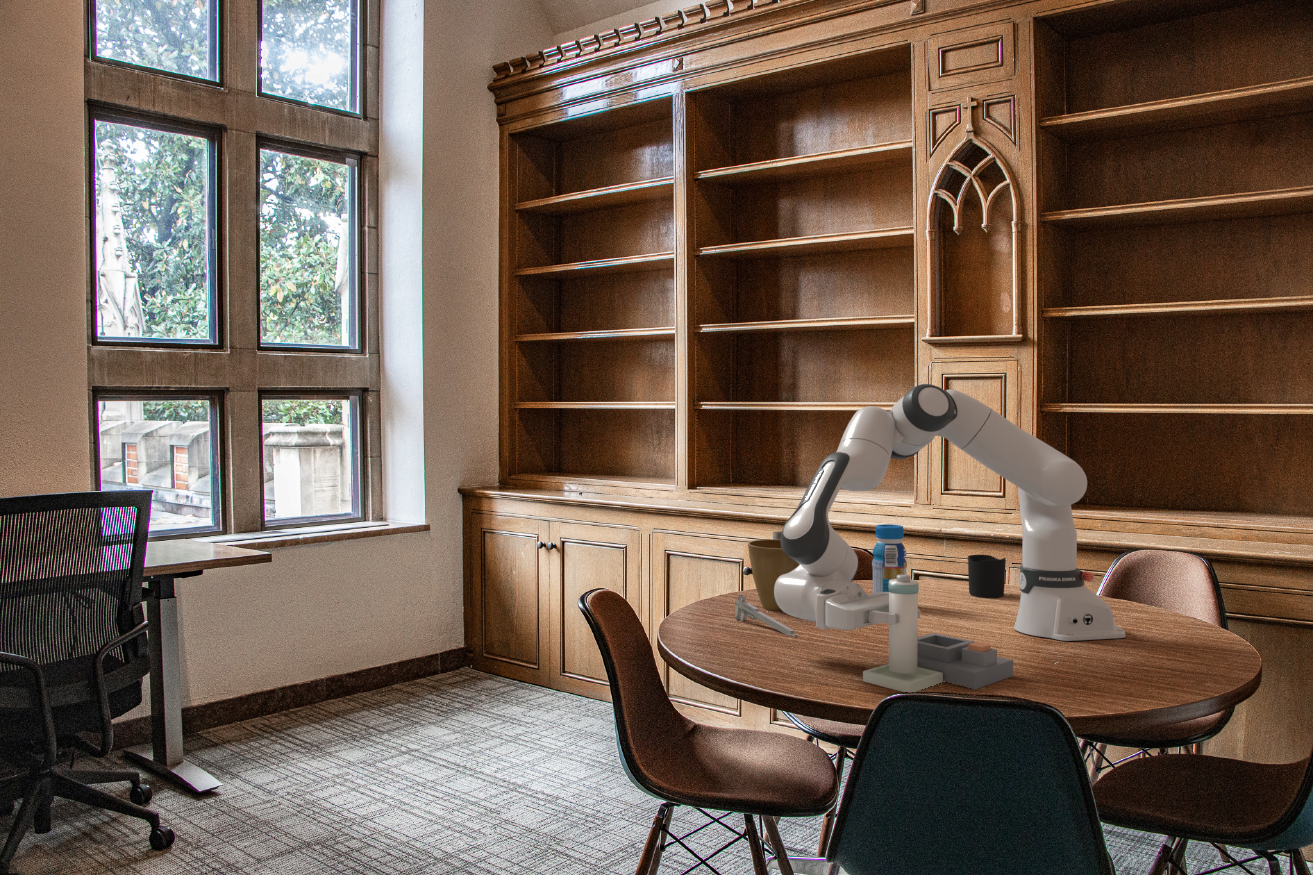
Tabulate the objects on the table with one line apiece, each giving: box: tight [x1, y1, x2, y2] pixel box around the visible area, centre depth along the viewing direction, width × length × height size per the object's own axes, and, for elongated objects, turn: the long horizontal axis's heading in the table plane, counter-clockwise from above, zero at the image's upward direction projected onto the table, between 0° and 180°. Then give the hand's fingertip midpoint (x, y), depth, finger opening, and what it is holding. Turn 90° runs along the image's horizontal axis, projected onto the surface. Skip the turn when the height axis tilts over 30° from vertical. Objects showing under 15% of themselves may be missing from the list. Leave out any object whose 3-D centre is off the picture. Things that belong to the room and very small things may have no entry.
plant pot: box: [747, 538, 800, 611], centre depth 235 cm, size 15×15×16 cm
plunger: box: [968, 641, 992, 652], centre depth 173 cm, size 3×3×3 cm
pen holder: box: [967, 554, 1007, 599], centre depth 251 cm, size 9×9×10 cm
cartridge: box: [888, 574, 920, 674], centre depth 171 cm, size 5×5×17 cm
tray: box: [862, 663, 944, 693], centre depth 171 cm, size 10×10×2 cm
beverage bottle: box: [871, 523, 908, 593], centre depth 237 cm, size 8×8×20 cm
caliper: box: [734, 594, 798, 638], centre depth 214 cm, size 20×1×6 cm, turn 34°
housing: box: [917, 632, 1014, 691], centre depth 177 cm, size 13×18×6 cm
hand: (907, 616), depth 170 cm, fingers closed on cartridge, 5 cm apart
